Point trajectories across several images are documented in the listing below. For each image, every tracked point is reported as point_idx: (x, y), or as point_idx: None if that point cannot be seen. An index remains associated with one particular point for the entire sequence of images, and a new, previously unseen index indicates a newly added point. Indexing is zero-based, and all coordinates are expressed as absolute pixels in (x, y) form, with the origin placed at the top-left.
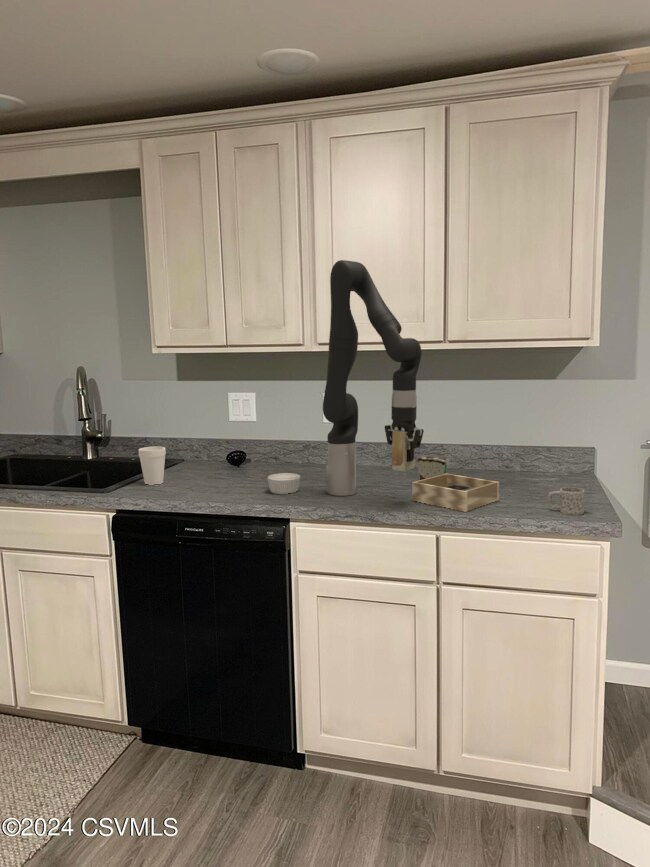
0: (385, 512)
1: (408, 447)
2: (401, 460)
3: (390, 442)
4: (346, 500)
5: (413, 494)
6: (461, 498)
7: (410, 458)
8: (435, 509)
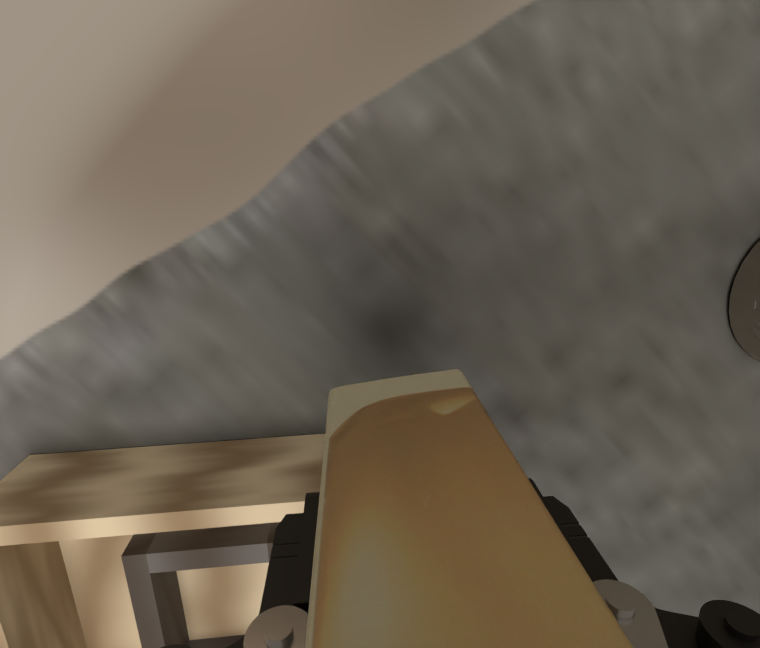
0: (326, 137)
1: (278, 635)
2: (352, 434)
3: (710, 640)
4: (687, 183)
5: None
6: (11, 497)
7: (284, 528)
8: (176, 388)
